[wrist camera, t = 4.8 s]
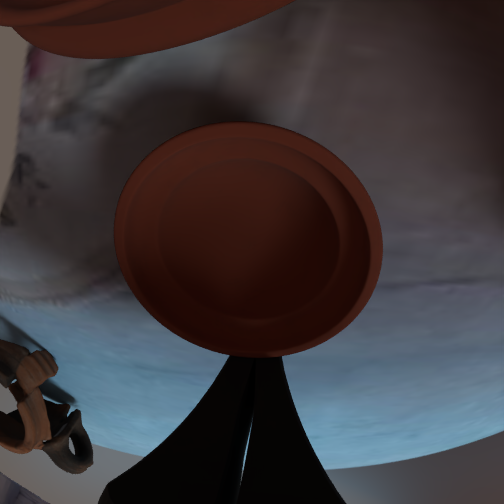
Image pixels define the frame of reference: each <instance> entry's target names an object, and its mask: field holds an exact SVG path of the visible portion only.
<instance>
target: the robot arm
mask: <svg viewBox="0 0 504 504" xmlns="http://www.w3.org/2000/svg"><path fill="white" fill-rule="evenodd" d="M252 419H253V420H252ZM251 424H252V426H251ZM250 428H251V432H250ZM249 432H250V438H249V444H248V449H247V455H246V460H245V466H244V471H243V476H242V468H243V461H244V455H245V450H246V445H247V441H248V437H249ZM241 476H242V480H241ZM240 483H241V485H240ZM0 504H50V503H48V502H46V501H44V500H42V499H41V498H40V497H39V496H37V495H35V494H34V493H32V492H30V491H29V490H27V489H26V488H24V487H22V486H21V485H19V484H18V483H16V482H14V481H13V480H11V479H10V478H8V477H7V476H5V475H4V474H3V473H1V472H0ZM98 504H346V503H345V501H344V500H343V498H342V497H341V496H340V494H339V493H338V491H337V490H336V488H335V486H334V485H333V483H332V482H331V480H330V479H329V477H328V475H327V474H326V472H325V470H324V468H323V466H322V465H321V463H320V461H319V459H318V457H317V456H316V454H315V452H314V450H313V448H312V446H311V444H310V442H309V439H308V437H307V435H306V433H305V430H304V428H303V426H302V423H301V421H300V418H299V416H298V413H297V411H296V408H295V405H294V402H293V399H292V396H291V393H290V389H289V386H288V382H287V379H286V375H285V371H284V366H283V361H282V356H279V357H269V358H247V357H238V356H231V355H230V356H229V357H228V359H227V361H226V363H225V364H224V366H223V368H222V369H221V371H220V373H219V374H218V376H217V377H216V379H215V381H214V382H213V384H212V385H211V386H210V388H209V389H208V391H207V392H206V393H205V395H204V396H203V397H202V399H201V400H200V402H199V403H198V404H197V405H196V407H195V408H194V409H193V410H192V412H191V413H190V414H189V415H188V416H187V417H186V418H185V420H184V421H183V422H182V423H181V424H180V425H179V426H178V427H177V428H176V429H175V430H174V431H173V432H172V433H171V434H170V435H169V436H168V437H167V438H166V439H165V440H164V441H163V442H162V443H161V444H160V445H159V446H158V447H156V448H155V449H154V450H153V451H152V452H150V453H149V454H148V455H147V456H146V457H144V458H143V459H142V460H141V461H139V462H138V463H137V464H136V465H134V466H133V467H131V468H130V469H128V470H127V471H125V472H124V473H122V474H121V475H120V476H118V477H117V478H115V479H113V480H112V481H110V482H109V483H108V484H107V485H106V487H105V489H104V491H103V493H102V495H101V497H100V499H99V502H98Z"/></svg>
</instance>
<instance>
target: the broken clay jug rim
mask: <svg viewBox="0 0 504 504" xmlns="http://www.w3.org/2000/svg"><path fill="white" fill-rule="evenodd" d="M57 371H58V366H57V364H56V362H55V361H54V359H53V358H52V356H51V354H50V353H49V352H48V351H46V350H42V351H39V350H36V351H34V352H33V353H30V352H29V350H28V349H27V348H25V347H22V346H19V345H17V344H14V343H11V342H7V341H4V340H0V383H1V384H2V385H3V386H4V387H5V388H7V387H8V388H9V390H10V392H11V393H12V394H13V396H14V397H15V399H16V401H17V408H18V409H17V410H15V411H13V412H10V413H8V414H5V413H4V412H2V411H0V445H1V446H2V447H4V448H5V449H8V450H9V451H12V452H14V453H18V454H25V453H28V452H30V451H32V449H40V450H43V451H44V452H46V453H47V454H48V455H49V457H50V458H51V459H52V461H53V462H54V463H55V464H56V465H57V466H58V467H59V468H61V469H62V470H64V471H66V472H69V473H72V474H80V473H82V472H84V471H86V470H87V468H88V467H90V466H91V465H92V464H93V449H92V445H91V441H90V439H89V436H88V434H87V432H86V431H85V429H84V427H83V425H82V420H81V411H80V410H78V409H76V410H75V411H73V412H71V413H70V414H69V416H68V417H67V414H68V412H69V409H70V405H69V404H55V403H53V402H51V401H47V400H45V399H43V396H42V394H41V391H40V389H39V385H41V384H42V383H43V382H44V381H45V380H46V379H48V378H49V377H53V376H55V375H56V373H57ZM14 379H16V380H17V381H16V382H14V383H12V384H11V382H12V381H13V380H14ZM69 437H70V438H71V440H72V442H73V445H74V449H75V455H74V454H73V453H72V452H71V451H70V449H69ZM43 440H47V441H46V442H43Z"/></svg>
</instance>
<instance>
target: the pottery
mask: <svg viewBox="0 0 504 504" xmlns="http://www.w3.org/2000/svg"><path fill="white" fill-rule="evenodd" d="M293 1H295V0H0V26H7V27H12V28H13V29H14V30H15V31H16V32H17V33H18V34H19V35H20V36H21V37H22V38H23V39H25V40H26V41H28V42H29V43H31V44H32V45H34V46H36V47H38V48H40V49H42V50H45V51H48V52H50V53H54V54H57V55H62V56H67V57H73V58H84V59H108V58H120V57H128V56H135V55H141V54H147V53H152V52H157V51H161V50H166V49H170V48H174V47H178V46H181V45H185V44H188V43H192V42H195V41H198V40H202V39H205V38H208V37H211V36H214V35H217V34H219V33H222V32H225V31H228V30H230V29H233V28H236V27H238V26H241V25H243V24H246V23H248V22H250V21H253V20H255V19H258V18H260V17H262V16H264V15H267V14H269V13H271V12H273V11H275V10H277V9H279V8H281V7H283V6H285V5H287V4H289V3H291V2H293ZM114 243H115V250H116V255H117V259H118V262H119V265H120V268H121V271H122V273H123V276H124V278H125V280H126V282H127V284H128V286H129V287H130V289H131V291H132V292H133V294H134V295H135V297H136V298H137V299H138V301H139V302H140V303H141V305H142V306H143V307H144V308H145V309H146V310H147V311H148V312H149V313H150V314H151V315H152V316H153V317H154V318H155V319H156V320H157V321H158V322H159V323H161V324H162V325H163V326H164V327H166V328H167V329H169V330H170V331H171V332H173V333H174V334H176V335H178V336H179V337H181V338H183V339H185V340H187V341H189V342H191V343H193V344H195V345H197V346H200V347H202V348H205V349H208V350H211V351H214V352H218V353H222V354H226V355H231V356H238V357H247V358H269V357H279V356H285V355H290V354H294V353H298V352H301V351H304V350H307V349H310V348H312V347H315V346H317V345H319V344H321V343H323V342H325V341H327V340H329V339H330V338H332V337H334V336H335V335H336V334H338V333H339V332H341V331H342V330H343V329H344V328H346V327H347V326H348V325H349V324H350V323H351V322H352V321H353V320H354V319H355V318H356V317H357V316H358V315H359V313H360V312H361V311H362V309H363V308H364V307H365V305H366V304H367V302H368V300H369V299H370V297H371V295H372V293H373V291H374V289H375V286H376V284H377V281H378V278H379V274H380V270H381V265H382V256H383V241H382V232H381V227H380V222H379V219H378V215H377V212H376V210H375V207H374V205H373V203H372V200H371V198H370V196H369V195H368V193H367V191H366V189H365V188H364V186H363V185H362V183H361V182H360V181H359V179H358V178H357V177H356V175H355V174H354V173H353V172H352V171H351V170H350V168H349V167H348V166H347V165H346V164H345V163H344V162H342V161H341V160H340V159H339V158H338V157H337V156H336V155H334V154H333V153H332V152H330V151H329V150H328V149H326V148H325V147H323V146H322V145H320V144H319V143H317V142H315V141H313V140H311V139H310V138H308V137H306V136H303V135H301V134H299V133H296V132H294V131H291V130H288V129H285V128H282V127H278V126H274V125H270V124H265V123H258V122H246V121H232V122H220V123H213V124H208V125H204V126H200V127H197V128H193V129H191V130H188V131H185V132H183V133H181V134H178V135H176V136H174V137H173V138H171V139H169V140H167V141H166V142H164V143H163V144H161V145H160V146H158V147H157V148H156V149H154V150H153V151H152V152H151V153H150V154H148V155H147V156H146V157H145V158H144V159H143V160H142V161H141V163H140V164H139V165H138V166H137V167H136V169H135V170H134V171H133V173H132V174H131V176H130V177H129V179H128V180H127V182H126V184H125V186H124V188H123V190H122V193H121V195H120V198H119V201H118V204H117V208H116V213H115V220H114Z"/></svg>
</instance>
